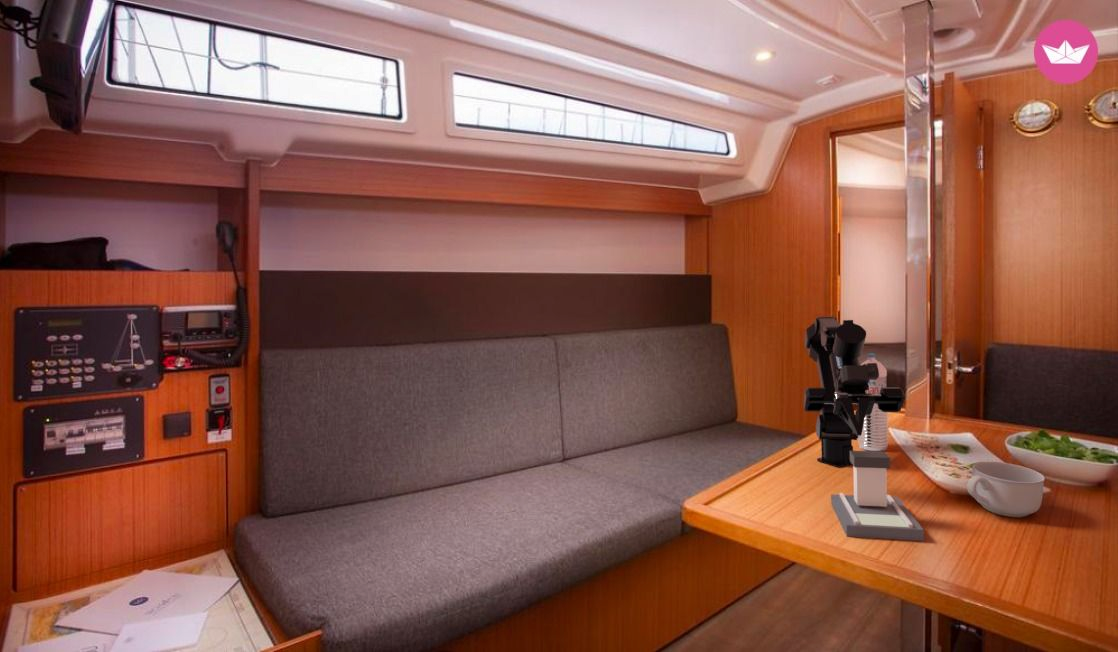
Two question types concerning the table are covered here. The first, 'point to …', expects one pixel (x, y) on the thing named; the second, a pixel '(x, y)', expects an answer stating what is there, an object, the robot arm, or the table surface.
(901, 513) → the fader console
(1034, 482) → the teacup
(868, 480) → the fader knob
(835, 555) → the table surface
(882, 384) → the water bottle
